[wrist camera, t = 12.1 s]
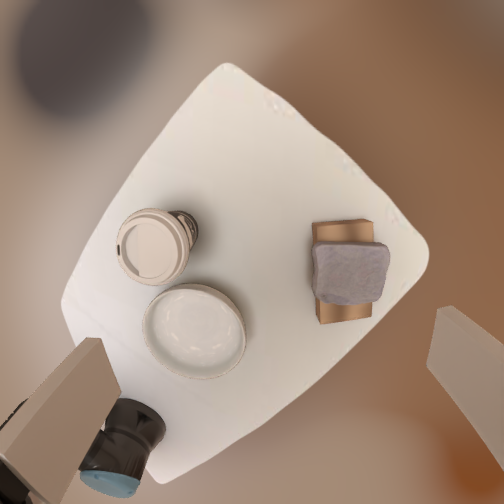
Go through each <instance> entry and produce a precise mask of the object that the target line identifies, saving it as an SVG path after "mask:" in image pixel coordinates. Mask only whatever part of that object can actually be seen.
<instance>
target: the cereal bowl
mask: <svg viewBox="0 0 504 504" xmlns="http://www.w3.org/2000/svg"><path fill="white" fill-rule="evenodd" d="M143 335H144V339H145V342H146V344H147V346H148V348H149V350H150V352H151V353H152V355H153V356H154V357H155V358H156V359H157V360H158V361H159V362H160V363H161V364H162V365H163V366H165V367H166V368H167V369H169V370H170V371H172V372H174V373H176V374H178V375H181V376H184V377H187V378H192V379H211V378H216V377H219V376H222V375H224V374H226V373H227V372H229V371H230V370H232V369H233V368H234V367H235V366H236V365H237V364H238V362H239V361H240V359H241V358H242V356H243V353H244V350H245V347H246V329H245V324H244V321H243V319H242V316H241V314H240V312H239V310H238V309H237V307H236V306H235V304H234V303H233V302H232V301H231V300H230V299H229V298H228V297H226V295H224V294H223V293H221V292H219V291H218V290H215V289H214V288H211V287H209V286H205V285H200V284H181V285H177V286H174V287H171V288H169V289H167V290H165V291H164V292H162V293H161V294H159V295H158V296H157V297H156V298H155V299H154V300H153V301H152V302H151V303H150V304H149V306H148V308H147V310H146V312H145V314H144V318H143Z"/></svg>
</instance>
